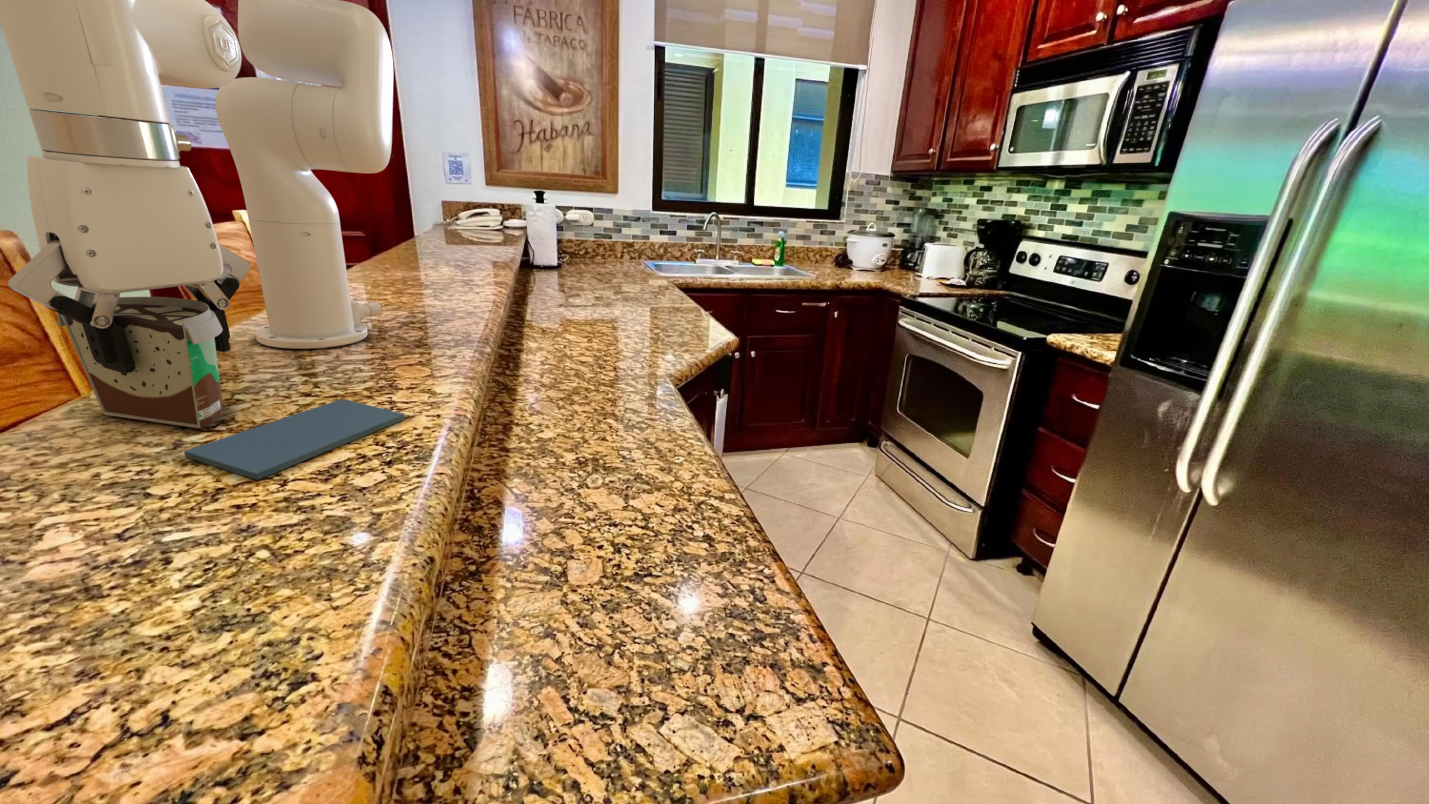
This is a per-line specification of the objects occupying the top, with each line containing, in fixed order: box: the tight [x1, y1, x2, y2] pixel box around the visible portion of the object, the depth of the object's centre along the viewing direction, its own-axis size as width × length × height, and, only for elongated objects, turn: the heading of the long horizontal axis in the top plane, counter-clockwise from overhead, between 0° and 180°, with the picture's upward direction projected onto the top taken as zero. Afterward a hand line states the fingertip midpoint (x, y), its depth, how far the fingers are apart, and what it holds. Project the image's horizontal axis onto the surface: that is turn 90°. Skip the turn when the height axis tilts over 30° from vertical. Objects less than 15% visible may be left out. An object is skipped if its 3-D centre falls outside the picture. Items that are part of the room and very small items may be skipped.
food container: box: [56, 296, 224, 429], centre depth 50 cm, size 12×6×10 cm, turn 84°
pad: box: [183, 398, 406, 481], centre depth 50 cm, size 14×8×1 cm, turn 162°
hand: (170, 357), depth 50 cm, fingers closed on food container, 6 cm apart
